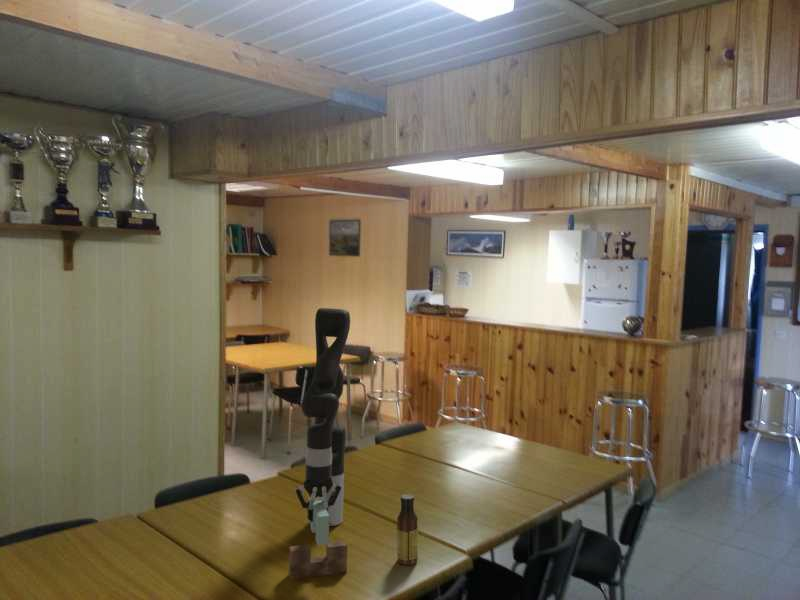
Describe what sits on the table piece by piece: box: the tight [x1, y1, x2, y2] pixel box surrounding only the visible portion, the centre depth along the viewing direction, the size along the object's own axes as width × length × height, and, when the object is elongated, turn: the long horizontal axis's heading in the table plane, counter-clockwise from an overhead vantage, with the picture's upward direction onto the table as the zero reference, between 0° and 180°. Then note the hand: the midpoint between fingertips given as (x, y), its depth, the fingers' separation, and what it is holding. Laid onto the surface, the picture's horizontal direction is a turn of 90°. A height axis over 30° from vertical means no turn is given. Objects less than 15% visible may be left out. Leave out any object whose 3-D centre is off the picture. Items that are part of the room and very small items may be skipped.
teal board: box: [310, 500, 330, 547], centre depth 172 cm, size 12×3×8 cm, turn 18°
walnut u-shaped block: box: [288, 540, 348, 580], centre depth 172 cm, size 16×3×8 cm, turn 108°
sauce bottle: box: [396, 493, 419, 566], centre depth 181 cm, size 7×6×20 cm
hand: (317, 520), depth 176 cm, fingers closed on teal board, 3 cm apart
